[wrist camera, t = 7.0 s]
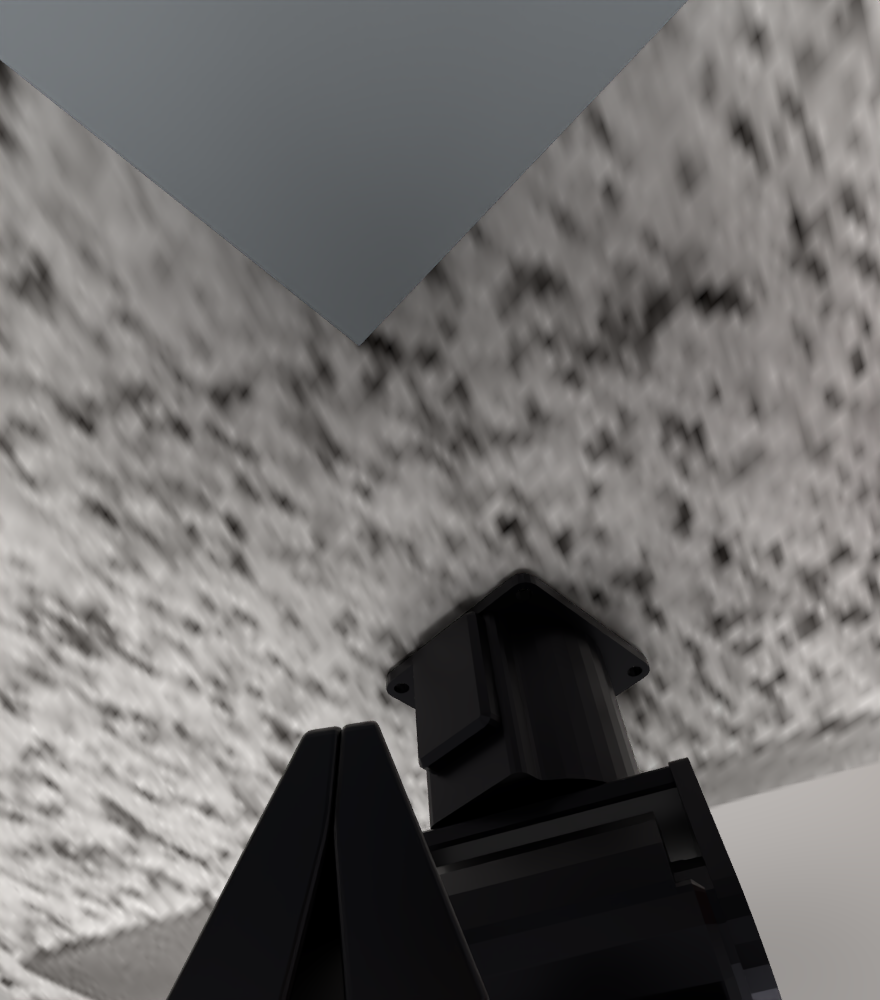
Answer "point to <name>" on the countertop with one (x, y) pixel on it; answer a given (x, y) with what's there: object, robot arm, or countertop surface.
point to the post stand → (330, 117)
